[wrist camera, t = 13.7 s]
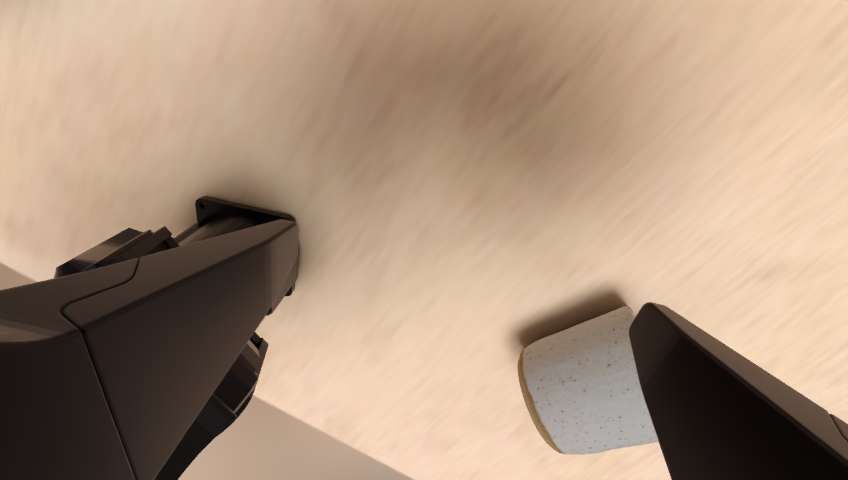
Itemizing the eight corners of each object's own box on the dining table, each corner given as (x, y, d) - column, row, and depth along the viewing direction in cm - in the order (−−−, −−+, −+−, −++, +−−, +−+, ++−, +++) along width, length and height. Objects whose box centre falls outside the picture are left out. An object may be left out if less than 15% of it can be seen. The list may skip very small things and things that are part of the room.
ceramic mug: (504, 329, 27) (518, 428, 20) (615, 281, 24) (674, 377, 17) (568, 411, 30) (598, 517, 24) (670, 378, 28) (737, 488, 21)
